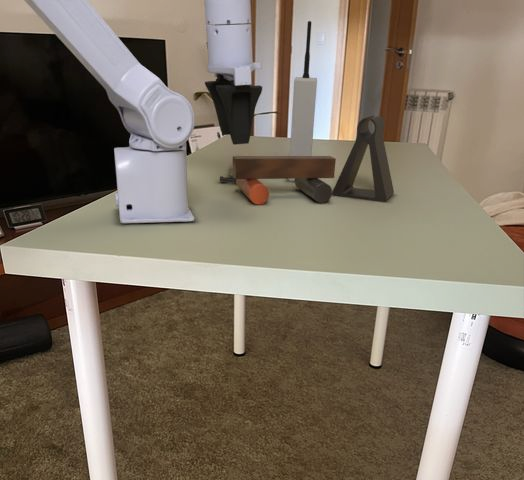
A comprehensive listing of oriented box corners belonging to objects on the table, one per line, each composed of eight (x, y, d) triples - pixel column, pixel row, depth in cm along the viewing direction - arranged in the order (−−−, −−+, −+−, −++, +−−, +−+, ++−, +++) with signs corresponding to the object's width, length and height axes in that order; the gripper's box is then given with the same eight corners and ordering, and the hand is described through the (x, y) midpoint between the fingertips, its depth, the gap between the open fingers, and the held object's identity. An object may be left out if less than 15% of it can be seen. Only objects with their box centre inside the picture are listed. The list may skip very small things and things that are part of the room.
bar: (235, 179, 84) (235, 158, 83) (232, 176, 87) (232, 155, 85) (334, 178, 88) (336, 158, 87) (328, 175, 90) (330, 155, 89)
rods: (249, 204, 83) (250, 184, 82) (235, 190, 91) (236, 171, 90) (331, 203, 86) (333, 183, 85) (310, 189, 95) (311, 170, 93)
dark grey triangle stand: (331, 195, 91) (339, 116, 85) (342, 188, 96) (349, 113, 90) (386, 201, 88) (397, 120, 82) (393, 194, 93) (405, 117, 87)
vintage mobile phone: (309, 177, 104) (321, 22, 92) (309, 182, 99) (321, 20, 87) (289, 176, 104) (298, 21, 92) (288, 181, 99) (297, 19, 88)
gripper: (274, 23, 65) (276, 145, 71) (246, 24, 77) (251, 128, 84) (214, 25, 63) (223, 150, 70) (196, 26, 75) (204, 132, 82)
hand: (234, 138), depth 77 cm, fingers open, 7 cm apart
